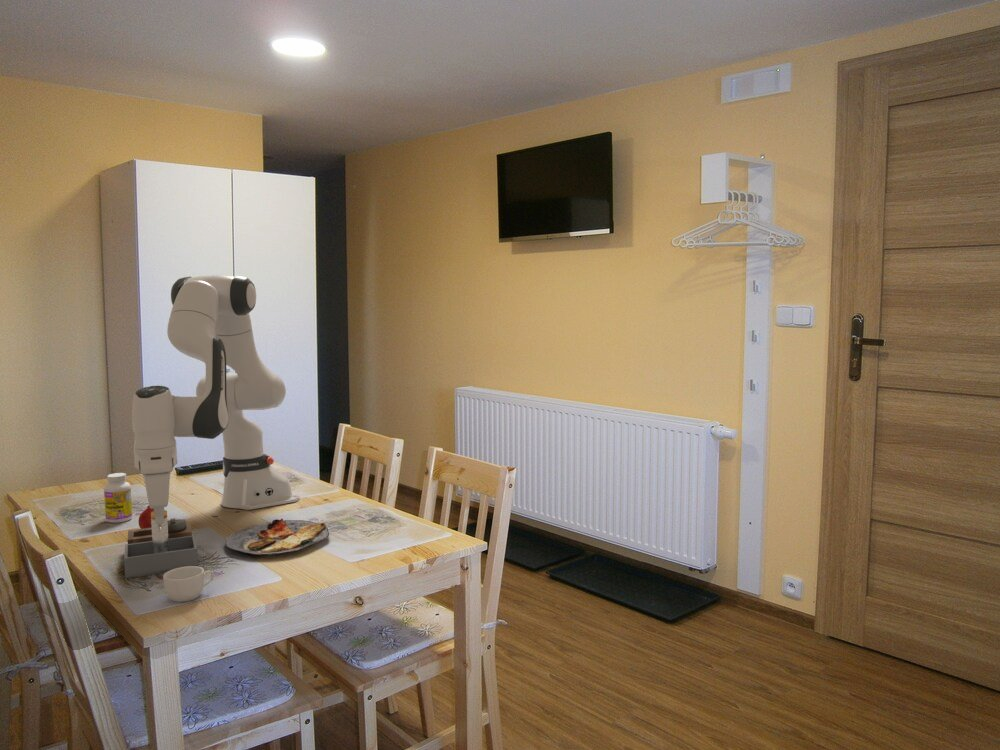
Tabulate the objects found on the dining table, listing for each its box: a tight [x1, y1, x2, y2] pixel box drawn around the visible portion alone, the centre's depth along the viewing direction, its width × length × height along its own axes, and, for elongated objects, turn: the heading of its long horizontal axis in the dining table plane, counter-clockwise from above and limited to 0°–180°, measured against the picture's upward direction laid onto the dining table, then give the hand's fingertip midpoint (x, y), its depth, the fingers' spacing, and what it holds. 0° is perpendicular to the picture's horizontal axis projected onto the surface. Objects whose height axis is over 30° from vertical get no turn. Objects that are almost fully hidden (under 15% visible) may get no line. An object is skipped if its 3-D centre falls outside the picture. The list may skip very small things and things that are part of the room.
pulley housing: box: [127, 518, 193, 544], centre depth 184 cm, size 14×8×8 cm, turn 115°
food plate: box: [224, 518, 330, 556], centre depth 190 cm, size 25×23×4 cm
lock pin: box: [151, 509, 169, 554], centre depth 174 cm, size 3×3×12 cm
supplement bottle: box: [103, 472, 133, 524], centre depth 209 cm, size 7×7×13 cm
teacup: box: [162, 565, 215, 603], centre depth 156 cm, size 10×8×5 cm
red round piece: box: [138, 504, 154, 529], centre depth 196 cm, size 6×6×8 cm
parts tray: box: [123, 535, 199, 579], centre depth 174 cm, size 15×10×4 cm
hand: (159, 517), depth 173 cm, fingers open, 8 cm apart
